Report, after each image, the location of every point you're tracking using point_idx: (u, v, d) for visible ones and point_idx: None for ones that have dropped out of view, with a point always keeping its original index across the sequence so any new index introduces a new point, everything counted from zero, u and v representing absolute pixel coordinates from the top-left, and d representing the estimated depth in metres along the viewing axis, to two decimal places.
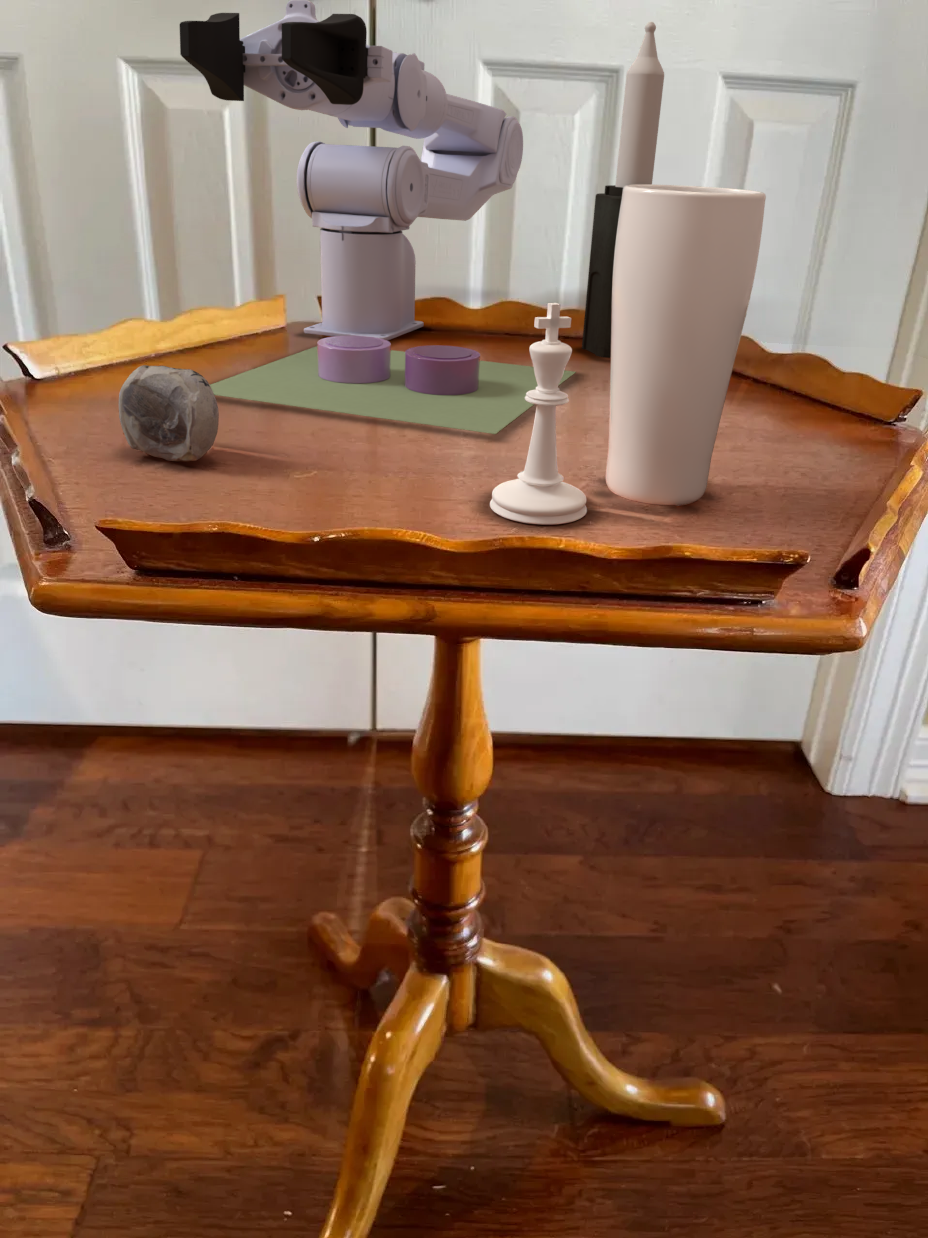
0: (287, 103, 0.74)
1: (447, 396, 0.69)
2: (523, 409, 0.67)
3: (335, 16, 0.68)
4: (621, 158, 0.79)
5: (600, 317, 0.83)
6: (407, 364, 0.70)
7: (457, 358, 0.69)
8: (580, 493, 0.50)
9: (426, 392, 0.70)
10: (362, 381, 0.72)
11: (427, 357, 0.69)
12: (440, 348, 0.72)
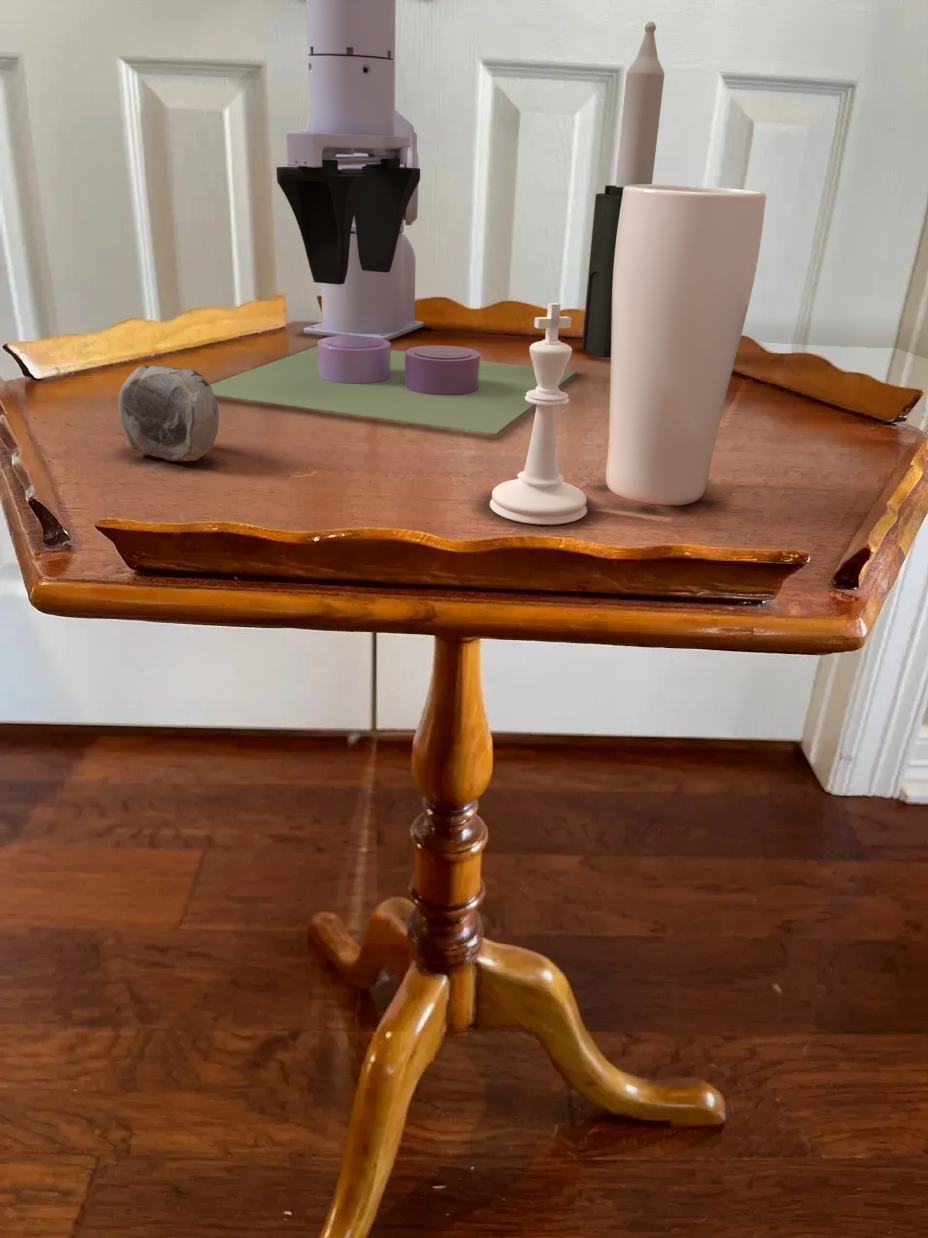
0: None
1: (447, 396, 0.69)
2: (523, 409, 0.67)
3: (410, 182, 0.71)
4: (621, 158, 0.79)
5: (600, 317, 0.83)
6: (407, 364, 0.70)
7: (457, 358, 0.69)
8: (580, 493, 0.50)
9: (426, 392, 0.70)
10: (362, 381, 0.72)
11: (427, 357, 0.69)
12: (440, 348, 0.72)
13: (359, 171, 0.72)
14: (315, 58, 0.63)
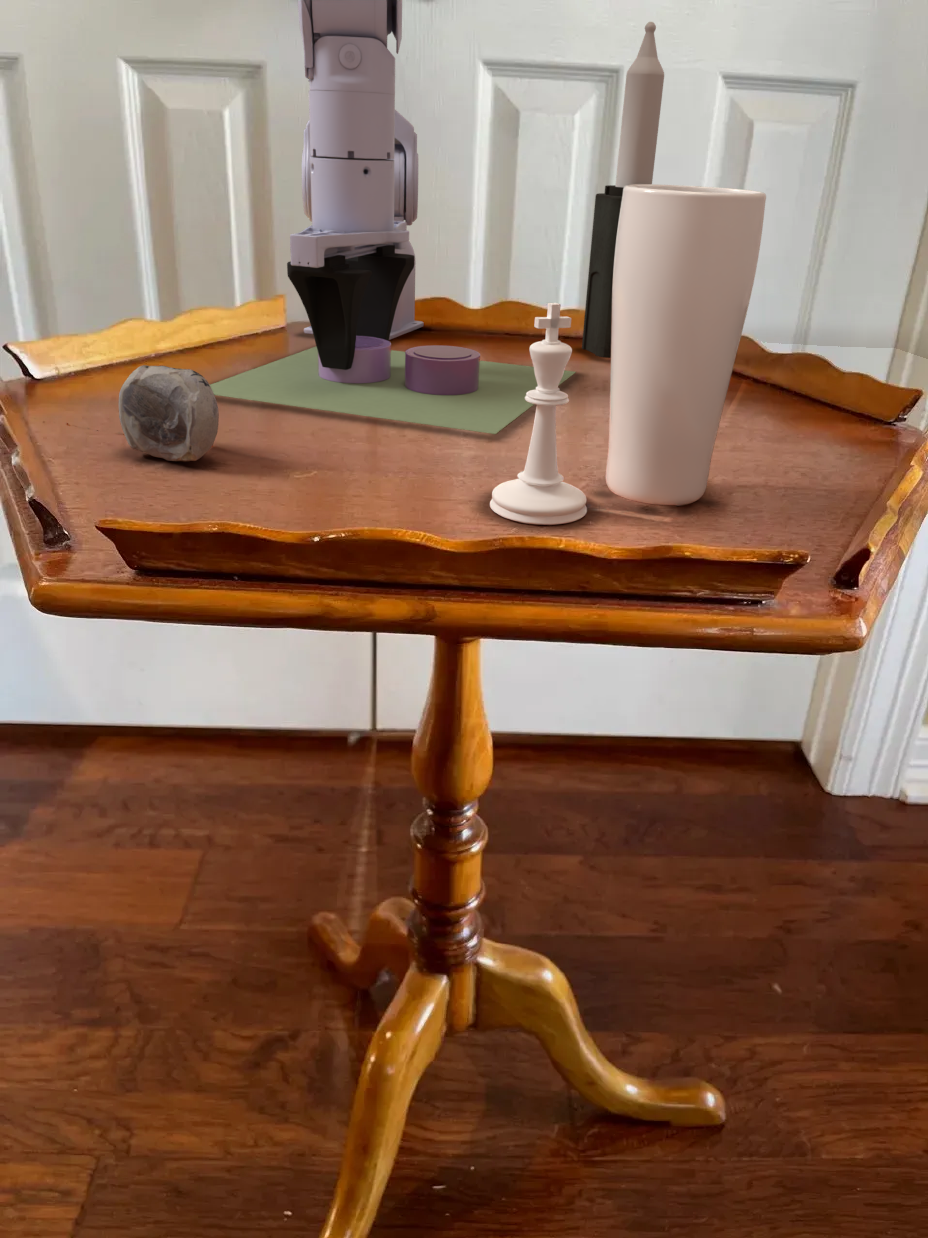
0: None
1: (447, 396, 0.69)
2: (523, 409, 0.67)
3: (404, 269, 0.73)
4: (621, 158, 0.79)
5: (600, 317, 0.83)
6: (407, 364, 0.70)
7: (457, 358, 0.69)
8: (580, 493, 0.50)
9: (426, 392, 0.70)
10: (362, 381, 0.72)
11: (427, 357, 0.69)
12: (440, 348, 0.72)
13: (354, 258, 0.73)
14: (317, 159, 0.66)
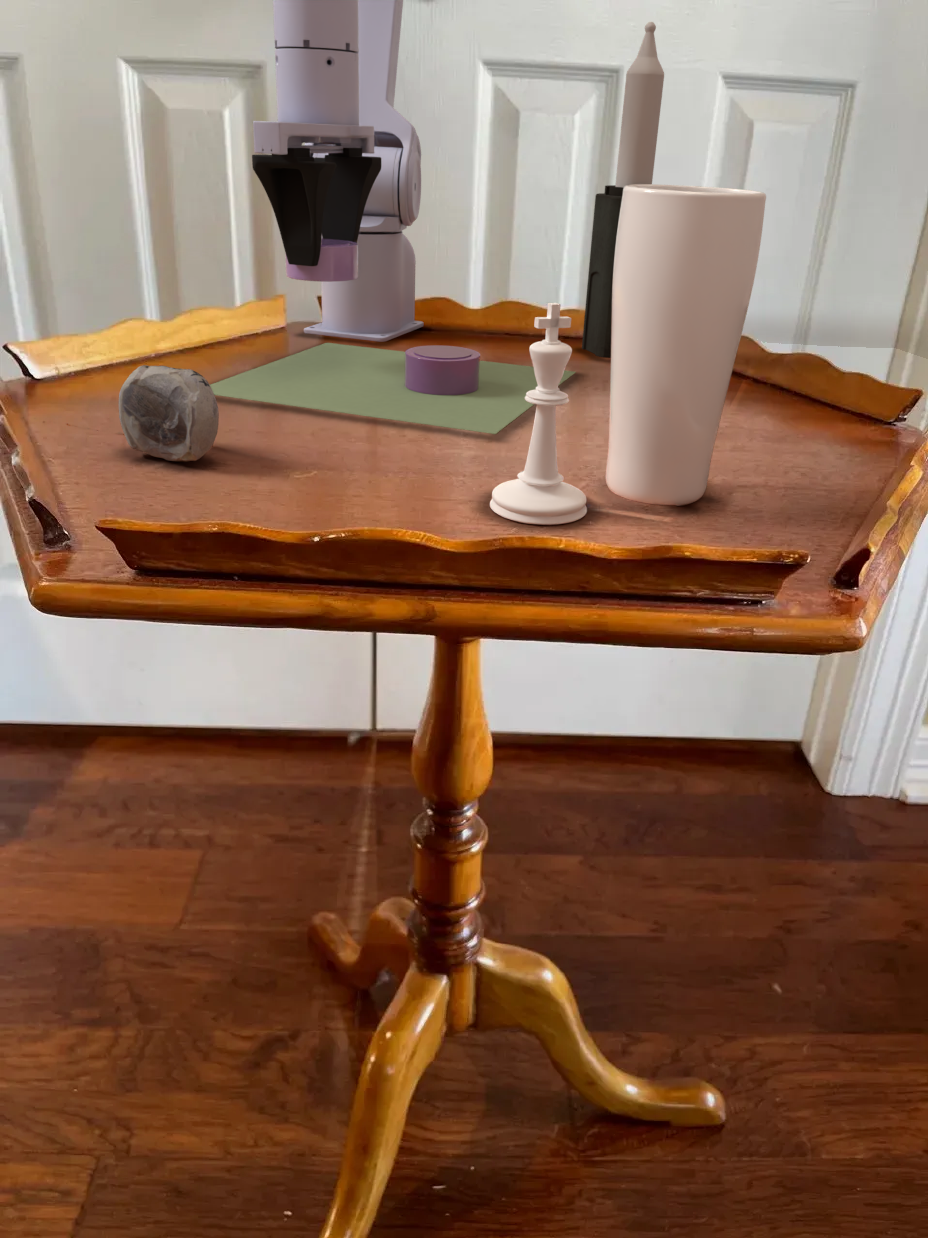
0: None
1: (447, 396, 0.69)
2: (523, 409, 0.67)
3: (371, 170, 0.73)
4: (621, 158, 0.79)
5: (600, 317, 0.83)
6: (407, 364, 0.70)
7: (457, 358, 0.69)
8: (580, 493, 0.50)
9: (426, 392, 0.70)
10: (329, 279, 0.72)
11: (427, 357, 0.69)
12: (440, 348, 0.72)
13: (322, 160, 0.74)
14: (281, 50, 0.66)
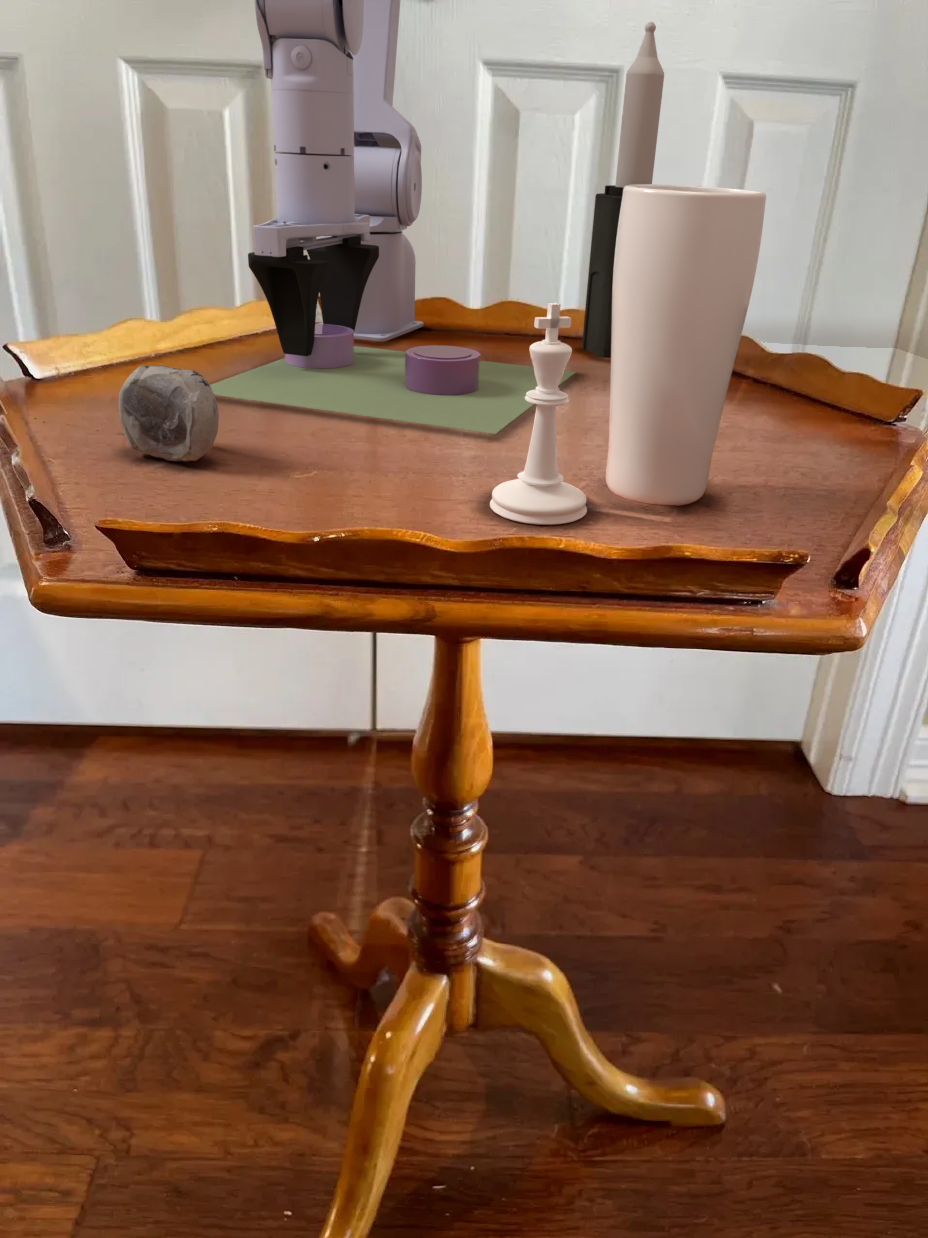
0: None
1: (447, 396, 0.69)
2: (523, 409, 0.67)
3: (369, 259, 0.77)
4: (621, 158, 0.79)
5: (600, 317, 0.83)
6: (407, 364, 0.70)
7: (457, 358, 0.69)
8: (580, 493, 0.50)
9: (426, 392, 0.70)
10: (326, 366, 0.75)
11: (427, 357, 0.69)
12: (440, 348, 0.72)
13: (322, 249, 0.78)
14: (280, 155, 0.70)
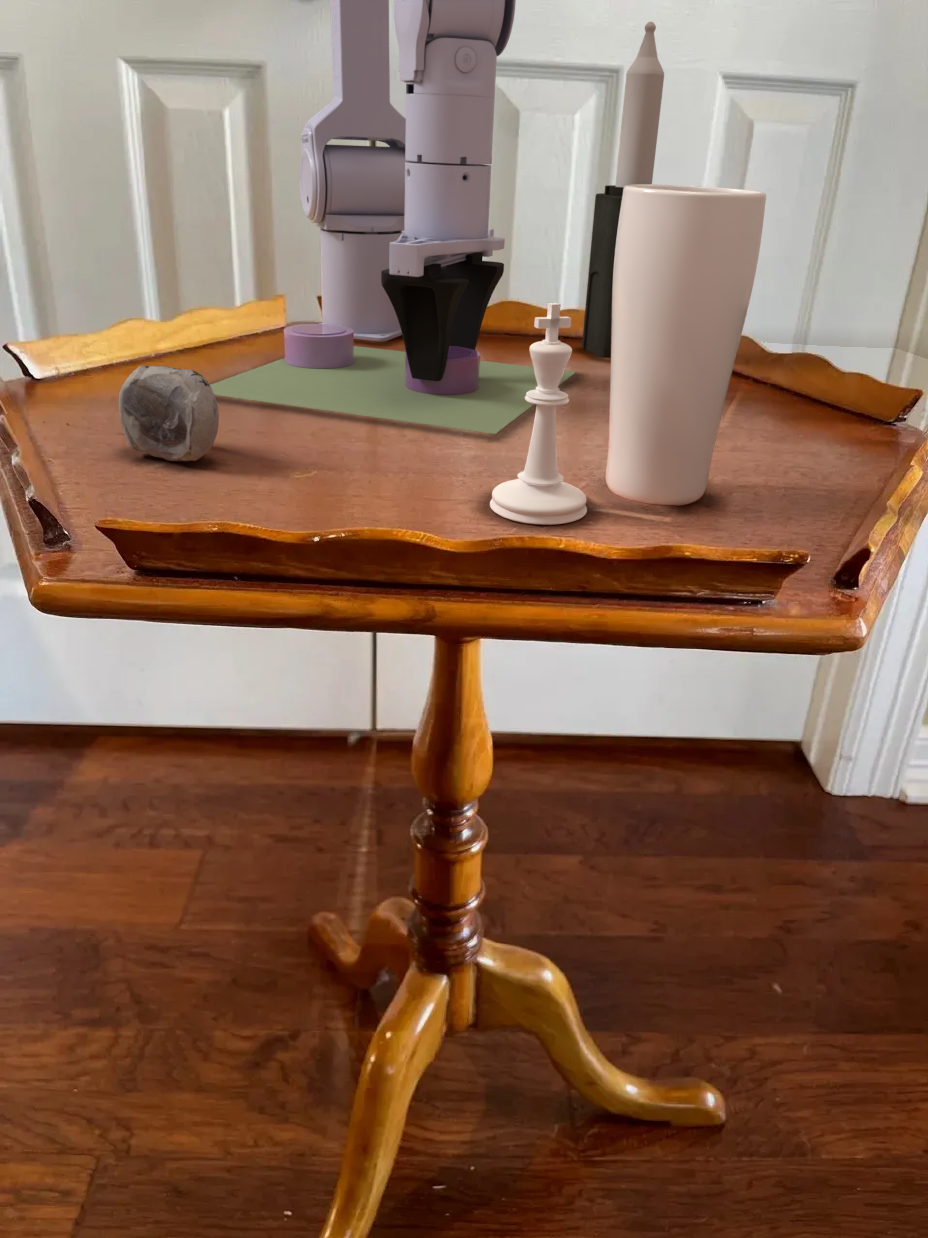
0: None
1: (447, 396, 0.69)
2: (523, 409, 0.67)
3: (494, 278, 0.71)
4: (621, 158, 0.79)
5: (600, 317, 0.83)
6: (407, 364, 0.70)
7: (457, 358, 0.69)
8: (580, 493, 0.50)
9: (426, 392, 0.70)
10: (326, 366, 0.75)
11: None
12: None
13: (442, 266, 0.71)
14: (414, 165, 0.64)
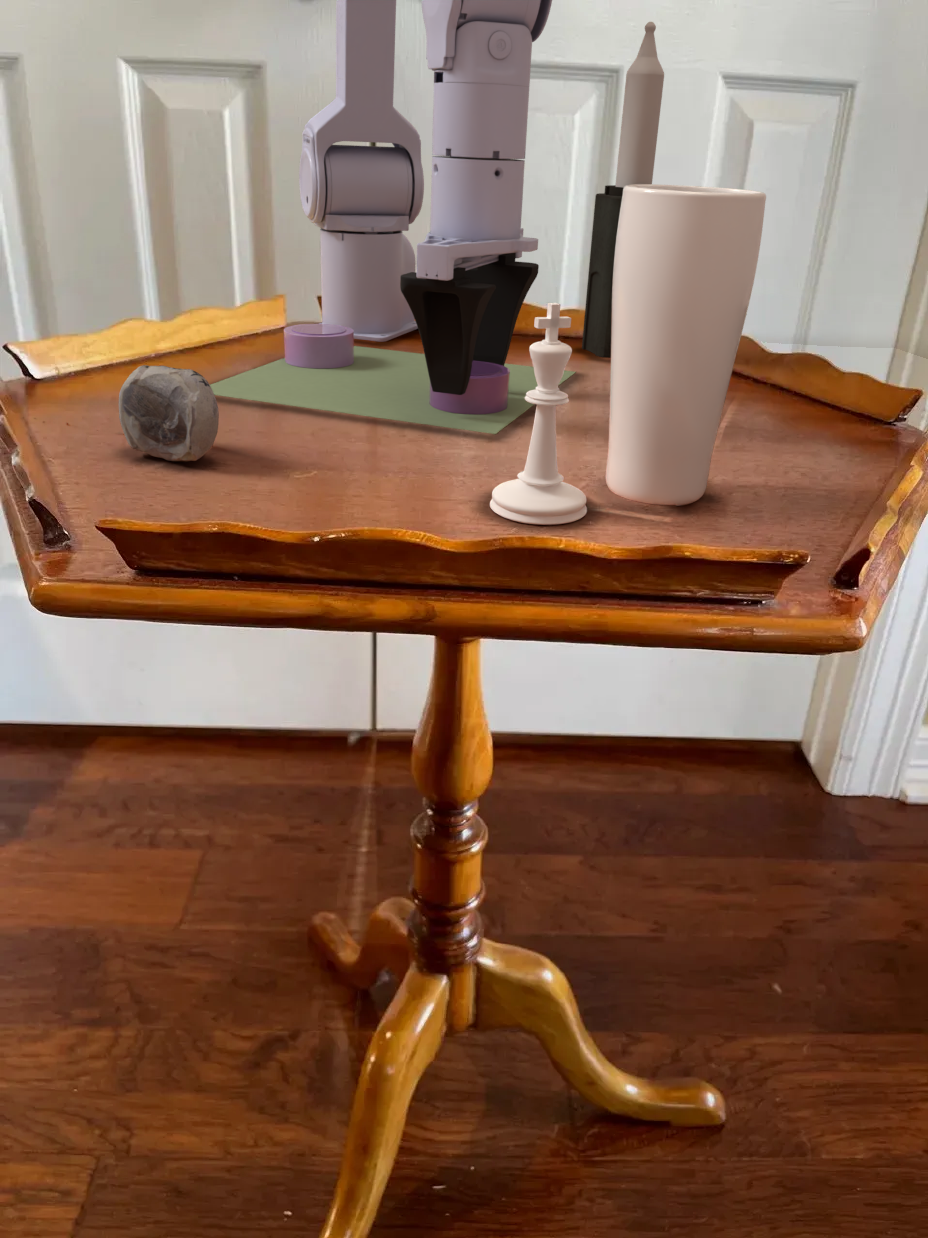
0: None
1: None
2: (523, 409, 0.67)
3: (529, 279, 0.67)
4: (621, 158, 0.79)
5: (600, 317, 0.83)
6: None
7: (486, 375, 0.65)
8: (580, 493, 0.50)
9: (453, 411, 0.65)
10: (326, 366, 0.75)
11: None
12: None
13: (473, 267, 0.67)
14: (442, 159, 0.59)
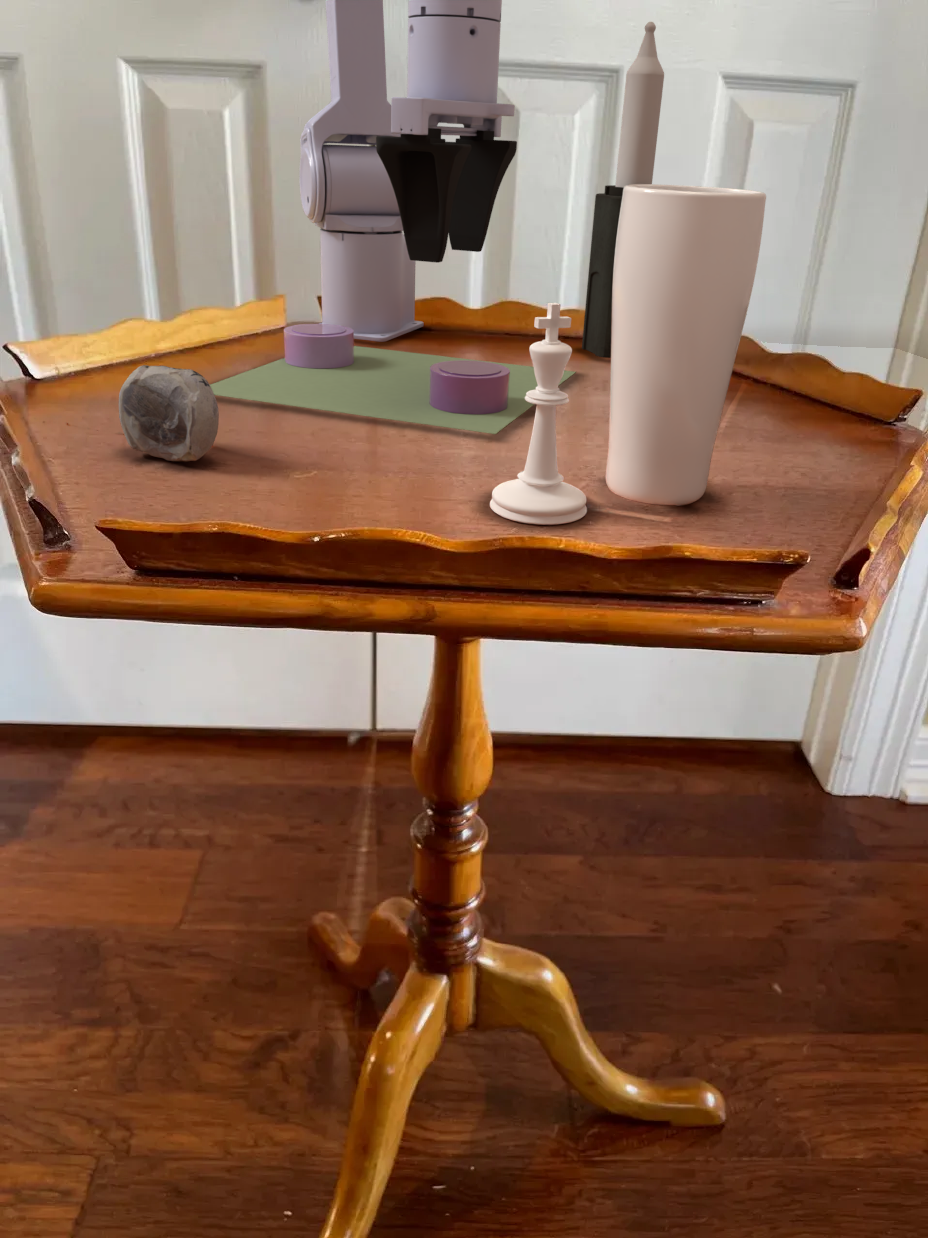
0: None
1: None
2: (523, 409, 0.67)
3: (507, 155, 0.67)
4: (621, 158, 0.79)
5: (600, 317, 0.83)
6: (432, 381, 0.66)
7: (486, 375, 0.65)
8: (580, 493, 0.50)
9: (453, 411, 0.65)
10: (326, 366, 0.75)
11: (454, 374, 0.65)
12: (467, 364, 0.67)
13: None
14: (417, 19, 0.59)
